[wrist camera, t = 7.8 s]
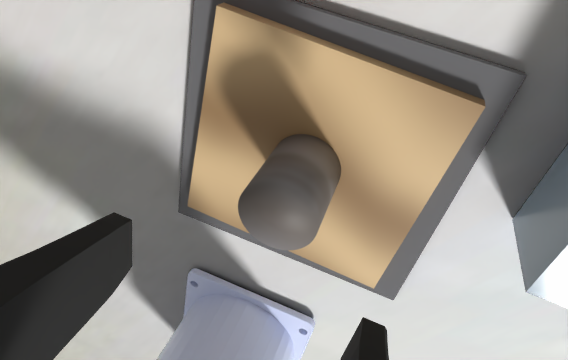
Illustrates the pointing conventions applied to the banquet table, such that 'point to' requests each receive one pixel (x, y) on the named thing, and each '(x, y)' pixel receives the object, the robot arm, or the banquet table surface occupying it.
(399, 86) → the lid
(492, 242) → the banquet table surface
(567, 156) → the blue-grey square box
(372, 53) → the mat
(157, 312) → the banquet table surface
